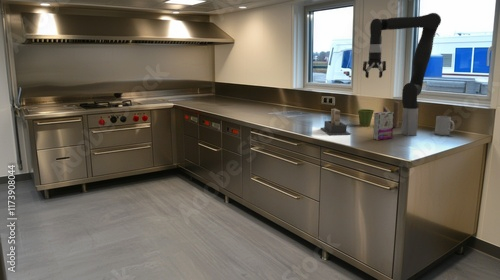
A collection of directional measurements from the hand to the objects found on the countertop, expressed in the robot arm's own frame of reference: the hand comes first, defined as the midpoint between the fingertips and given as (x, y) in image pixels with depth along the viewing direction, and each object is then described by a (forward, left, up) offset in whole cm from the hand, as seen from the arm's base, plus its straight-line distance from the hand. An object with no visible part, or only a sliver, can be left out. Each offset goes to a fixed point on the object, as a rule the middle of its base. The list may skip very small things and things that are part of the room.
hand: (373, 77), depth 254 cm
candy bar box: (-18, 0, -36) cm, 41 cm away
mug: (-11, -45, -36) cm, 59 cm away
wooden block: (+19, -22, -36) cm, 47 cm away
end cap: (+7, +22, -36) cm, 43 cm away
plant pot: (+26, -6, -36) cm, 45 cm away
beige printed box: (+7, +22, -35) cm, 42 cm away
